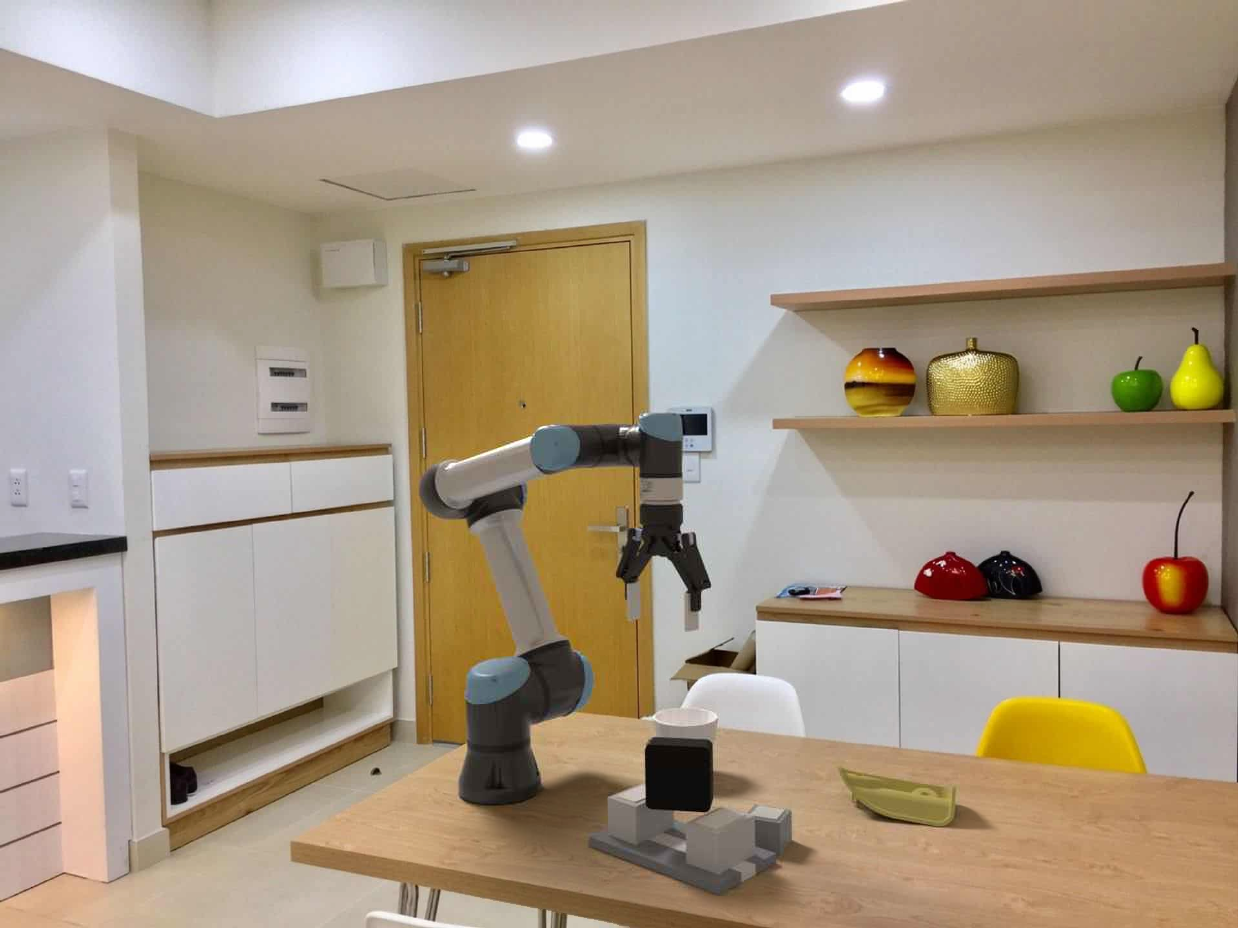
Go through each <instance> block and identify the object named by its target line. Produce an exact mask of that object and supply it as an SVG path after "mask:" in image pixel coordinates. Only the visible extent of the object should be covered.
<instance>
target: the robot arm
mask: <svg viewBox="0 0 1238 928" xmlns="http://www.w3.org/2000/svg"><path fill="white" fill-rule="evenodd" d="M683 447H684V435H683V421H682V417H681V415H680V414H679V413H678V412H642V413H641V414H639V416H638V422H637V424H626V423H625V424H624V423H623V424H622V423H621V424H619V423H618V424H614V423H602V424H561V423H556V424H551V425H544V426H543V425H542V426H540V427H539V428H537V429H536V430H535V432H534V433H533V434H532V436H529V437H527V438H523V439H521V440H517V441H514V442H512V443H510V444H506V445H504V446H500V447H498V448H495V449H493V450H490V451H486V452H484V453H480V454H478V455H474V456H471V457H469V458H467V459H464V460H460V459H457V458H456V459H454V458H453V459H448V460H445V461H442V462H438V463H435V464H434V465H431V466H430V467H428V469H426V470H425V471H424V473H423V474H422V475H421V478H420V480H419V484H418V495H419V500H420V502H421V504H422V505H423V507H424V508H425V510H427V512H429V513H430V514H431V515H432V516H434V517H436V518H439V519H442V520H448V521H453V520H465V522H466V524H467V528H468V530H469V533H470V534H473V535H474V536H476V537H478V538H479V540H480V543H481V546H482V548H483V552H484V555H485V558H486V560H487V561H486V562H487V563H488V566H489V569H490V572H491V575H492V579H493V581H494V584H495V588H496V591H497V593H498V597H499V599H500V602H501V603H500V604H501V605H502V608H503V612H504V615H505V617H506V620H507V623H508V626H509V628H510V632H511V635H512V639H513V641H514V643H515V644H514V645H515V648H516V651H515V652H514V654H513V656H502V657H500V658H497V657H495V658H491V659H488V660H485V661H482V662H480V663H477V664H476V665H474V666H472V667H471V668H470V669H469V671H468V672H467V675H466V678H465V690H464V699H465V709H466V711H465V712H466V714H465V715H466V753H465V757H464V761H463V765H462V768H461V772H460V775H459V777H458V779H457V780H458V782H457V785H458V786H457V787H458V789H457V790H458V796H459V797H460V798H462V799H463V800H465V801H468V802H471V803H476V804H482V805H504V804H512V803H517V802H522V801H524V800H527V799H531V798H533V797H534V796H535V795H537V794H538V793H540V792H541V789H542V775H541V774H542V773H541V771H540V770H539V767H538V764H537V760H536V757H535V755H534V752H533V750H532V744H531V743H532V742H531V741H532V739H531V736H532V735H531V733H532V732H531V726H534V725H538V724H540V723H544V722H548V721H550V720H554V719H558V718H564V717H567V716H569V715H572V714H573V713H576V712H578V711H580V710H582V709H583V708H585V707H586V705H587V704H588V703H589V702H590V700H591V698H592V693H593V691H594V686H595V678H594V670H593V667H592V665H591V663H590V661H589V659H588V658H587V656H586V655H583V653H582V652H580V651H577V650H573V648H572V645H571V643H570V640H569V638H568V637H565V636H563V635H561V634H560V633H559V632H558V628H557V626H556V623H555V621H554V618H553V615H552V612H551V611H552V610H551V609H550V606H549V603H548V600H547V597H546V594H545V592H544V589H543V586H542V583H541V579H540V577H539V574H538V572H537V569H536V568H537V567H536V565H535V563H534V560H533V557H532V554H531V552H530V549H529V545H528V542H527V541H526V536H525V534H524V531H523V528H522V526H521V521H522V520H523V517H524V515H525V511H524V508H525V506H526V504H527V501H528V497H527V496H526V495H527V494H528V493H529V492H528V485H527V483H530V482H534V481H536V480H540V479H542V478H546V477H549V476H552V475H556V474H559V473H564V472H567V471H570V470H577V469H578V470H579V469H594V468H595V469H596V468H597V469H599V468H613V467H615V468H616V467H620V468H621V467H628V468H631V467H632V468H634V467H635V468H638V476H639V477H638V479H639V500H640V501H642V503H640V505H638V506H639V514H638V515H639V524H640V525H641V526H642V527H641V526H637V527H630V528H628V532H627V541H626V543H625V547H624V549H623V552H622V555H621V558H620V561H619V563H618V566H617V569H616V572H615V577H616V578H617V579H621V580H622V581H623V582H624V599H625V601H626V621H629V622H631V621H635V620H636V621H637V620H640V619H642V616H641V615H642V614H641V613H642V612H641V611H642V609H641V608H642V606H641V605H642V604H641V602H642V599H641V597H642V596H641V593H642V591H641V589H642V588H641V582H639V581H640V579H639V577H640V576H641V574H642V572H643V571H644V570H645V568H646V567H647V566H648V564H649V563H650V561H651V559H652V558H653V557H657V556H658V557H660V558H666V559H667V560H668V561H670V562H671V563H672V565H673V567H674V568H675V571H676V572H677V574H678V576H679V577H680V578H681V581H682V582H683V584H684V585H685V587H686V589H687V590H686V591H685V592H684V598H683V599H684V632H688V633H689V632H693V631H697V630H699V629H700V628H699V627H700V625H699V622H700V621H699V614H700V613H699V612H700V611H701V610H702V593H703V591H704V590H705V591H706V590H707V589H711V587H712V582H711V580H710V577H709V574H708V572H707V569H706V566H705V563H704V561H703V559H702V556H701V553H700V549H699V548H698V543H697V534H696V533H695V531H691V532H683V533H682V530H681V527H682V524H684V505H683V504H682V503H681V502H680V501H682V500H683V499H684V481H683V479H684V478H683V477H684V476H683V475H684V474H683V457H684V456H683V455H684V454H683V453H684V451H683V449H684V448H683ZM642 541H643V543H642ZM641 544H642V545H641Z"/></svg>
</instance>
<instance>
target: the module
mask: <svg viewBox="0 0 1238 928" xmlns="http://www.w3.org/2000/svg"><path fill="white" fill-rule="evenodd" d="M746 813H749V814H752V815H755V846H756V847H759V848H762V849H765V850H768V851H771V852H774V853H776V855H779V856H780V855H782V854H783V853H784V851H785V849H786V848H788V846H789V844H790V843H791V842H792V841H793V830H792V829H793V824H792V823H793V822H792V820H793V819H792V817H793V816H792V809H789V808H781V807H777V806H770V805H769V806H768V805H763V804H754V805H753V806H752V807H751V808H750V809H749V810H748V812H747V811H746Z"/></svg>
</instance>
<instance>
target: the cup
mask: <svg viewBox="0 0 1238 928" xmlns="http://www.w3.org/2000/svg"><path fill="white" fill-rule="evenodd" d="M652 719H653V725H654V731H655V737H667V738H689V739H707V740H710V741H711V742H712V744H713V745H714V743H715V741H716V738H717V731H718V723H719V717H718V714H717V713H716V712H713V711H711V710H708V709H703V708H694V707H674V708H667V709H663V710H660V711H657V712H655V713H654V714H653V715H652Z"/></svg>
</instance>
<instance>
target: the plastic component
mask: <svg viewBox="0 0 1238 928" xmlns="http://www.w3.org/2000/svg"><path fill="white" fill-rule="evenodd" d="M836 767H837V770H838V773H839V775H840V777H841V779H842V781H843V783H844V784H845V786H846V787H847V789H848V790H849V791H850V792H851V799H850V801H851V802H852V803H853V804H858V805H862V806H863V805H864V806H866V807H868V808H869V809H870V810H871V811H874V812H876V813H878V814H879V815H882V816H884V817H888V818H891V819H895V820H899V821H904V822H912V823H914V824H915V823H916V824H922V825H925V826H926V825H927V826H934V827H939V828H940V827H944V826H947V825H949V824H950V823H951V822H952V821H953V819H954V818H955V809H956V808H955V807H956V795H957V783H952V787H946V786H944V787H943V786H938V785H933V784H926V783H921V782H915V781H909V780H902V779H897V778H892V777H891V778H890V777H884V776H878V775H874V774H873V775H872V774H867V773H862V772H859V771H858V772H857V771H852V770H850V769H846V768H843V767H842V766H841V764H840V763H839V764H838V763H836Z"/></svg>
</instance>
